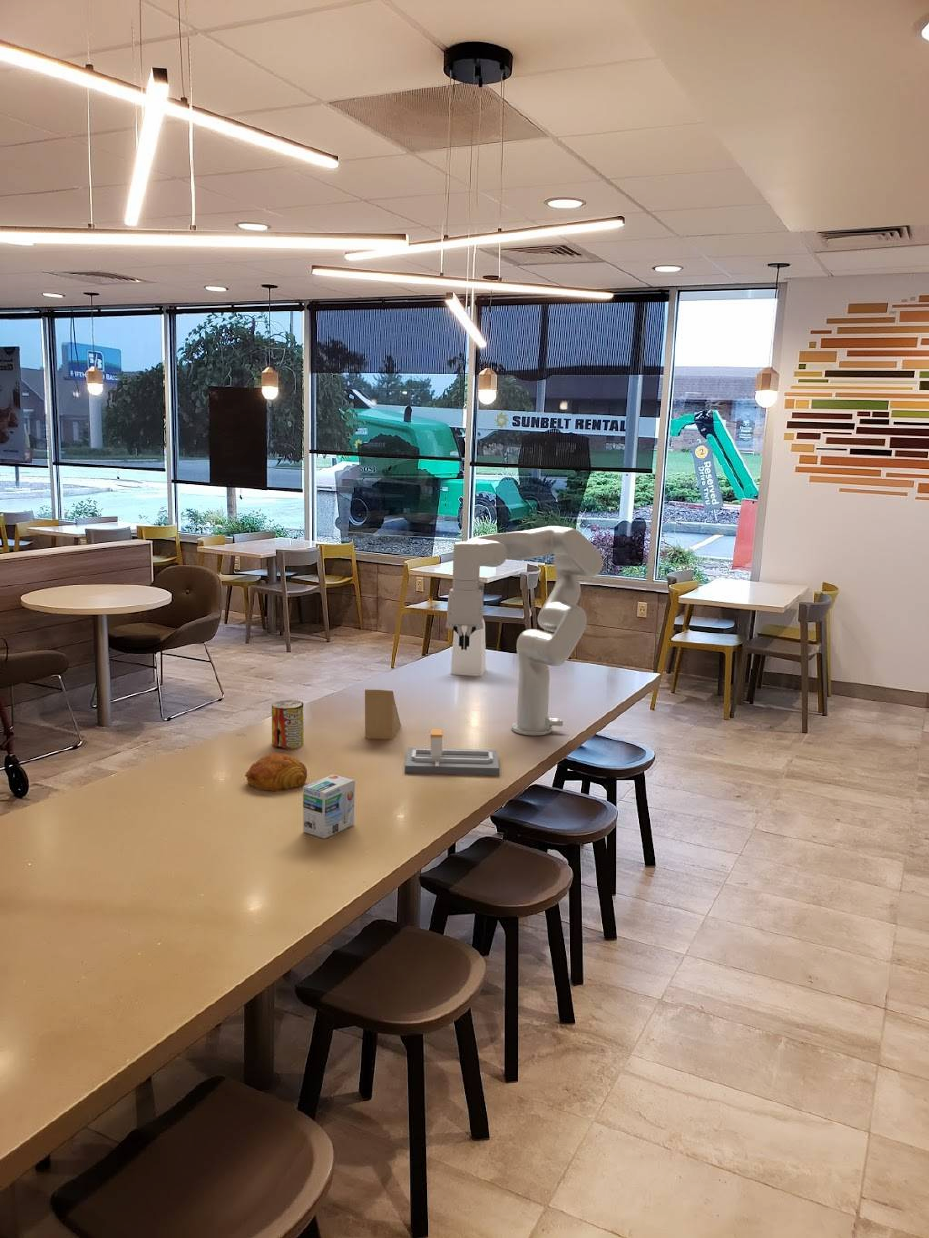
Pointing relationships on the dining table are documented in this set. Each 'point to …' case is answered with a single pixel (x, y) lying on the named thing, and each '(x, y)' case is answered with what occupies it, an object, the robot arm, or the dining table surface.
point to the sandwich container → (380, 714)
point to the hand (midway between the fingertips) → (463, 648)
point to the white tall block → (469, 654)
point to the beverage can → (287, 724)
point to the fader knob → (436, 743)
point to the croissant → (277, 772)
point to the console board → (452, 762)
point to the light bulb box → (328, 806)
